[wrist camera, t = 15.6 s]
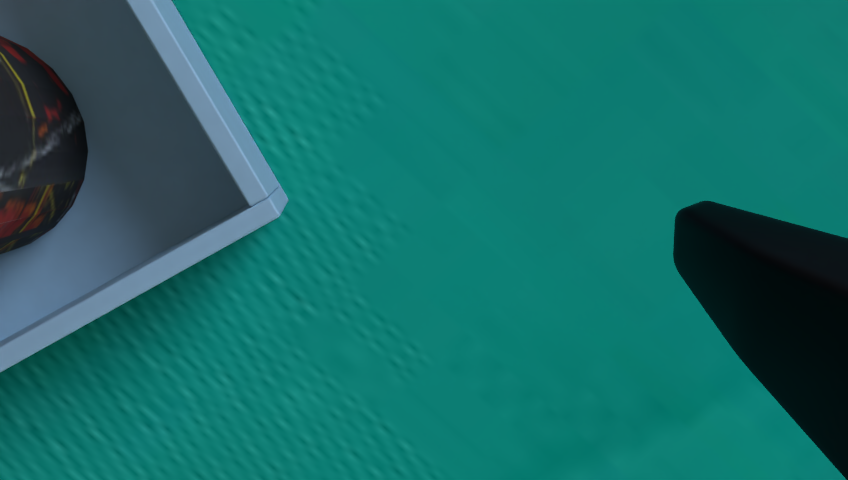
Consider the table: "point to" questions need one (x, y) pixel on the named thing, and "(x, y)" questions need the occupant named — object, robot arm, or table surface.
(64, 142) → the deodorant
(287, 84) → the table surface
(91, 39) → the grey open box
